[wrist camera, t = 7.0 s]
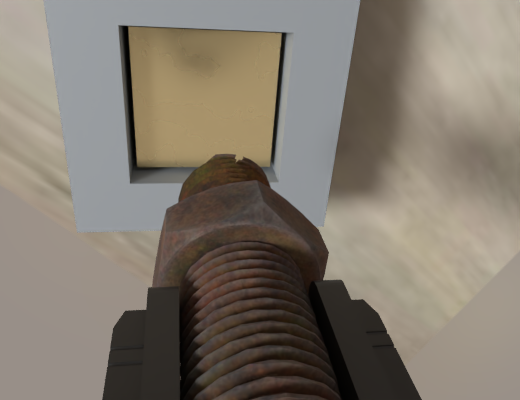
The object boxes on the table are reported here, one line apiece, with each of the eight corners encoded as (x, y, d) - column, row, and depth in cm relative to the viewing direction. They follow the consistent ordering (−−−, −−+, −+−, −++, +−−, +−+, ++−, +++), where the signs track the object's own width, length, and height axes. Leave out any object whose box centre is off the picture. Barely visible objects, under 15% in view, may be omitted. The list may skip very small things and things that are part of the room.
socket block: (329, -44, 27) (365, -34, 22) (301, 179, 34) (323, 226, 29) (64, -62, 24) (35, -56, 19) (93, 180, 31) (77, 232, 26)
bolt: (328, 187, 18) (718, 885, 5) (234, 272, 19) (353, 991, 6) (209, 82, 15) (391, 989, 2) (111, 190, 16) (-109, 1131, 4)
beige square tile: (276, 26, 25) (281, 33, 24) (265, 155, 29) (269, 166, 28) (130, 20, 24) (128, 26, 23) (139, 155, 28) (137, 167, 26)
